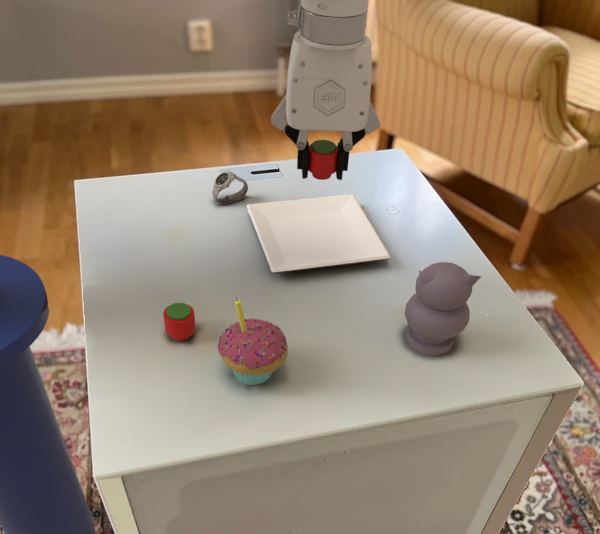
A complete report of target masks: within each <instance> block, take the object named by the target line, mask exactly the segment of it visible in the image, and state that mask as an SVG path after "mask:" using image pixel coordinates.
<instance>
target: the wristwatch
mask: <svg viewBox="0 0 600 534" xmlns="http://www.w3.org/2000/svg"><path fill="white" fill-rule="evenodd" d="M234 180H237V181H239V182H240V183H242V184H243V186H242V188H241V189H240V190H239V191H237V192H235V193H233V194H230V195H225V197H223V198H218V195H219V193H220V192H222V191H223V190H226V189H227V188H229V187H230V185H231V184H232V182H233V181H234ZM248 191H249V185H248V183H247V181H246V180H245V179H244V178H242V177H240V176H238V175H236V173H234V172H232V171H224V172H221V173H219V175H217V176H216V178H215V180H214V183H213V188H212V193H211V194H212V198H213V199H214V201H215V202H216V203H218V204H219V205H220V206H223V205H229V204H234V203H237V202H239V201H241V200H243V199H244V198H245V196H247V193H248Z"/></svg>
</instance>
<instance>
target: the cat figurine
mask: <svg viewBox="0 0 600 534" xmlns="http://www.w3.org/2000/svg"><path fill="white" fill-rule="evenodd" d="M481 278H482V275H476V274H469V272H467V270H465V269H464V268H463V267H462V266H461V265H459V264H456V263H453V262H449V261H439V262H435V263H432V264H430V265H428V266H426V267H424V268H423V269H422V270H419V271H418V276H417V278H416V281H415V293H413V295H412V296H411V297H410V298H409V299H408V301H407V302H406V304H405V309H404V317H405V320H406V323H407V325H408V328H407V332H406V341H407V344H408V346H409V347H411V349H412V350H414V351H416V352H417V353H419V354H422V355H424V356H430V357H436V356H437V357H439V356H442V355H445V354H447V353H449V352H450V350H451V349H452V347H453V345H454V342H455V338H456V336H458V335H460V334H461V333H462V332H464V330H465V329H466V327H467V326H468V324H469V322H470V318H471V317H470V316H471V315H470V313H471V311H470V307H469V305H468V303H467V302H468V300H469V299H470V297H471V295H472V293H473V286H474V285H475V284H476V283H477V282H478V281H479V280H480V279H481Z"/></svg>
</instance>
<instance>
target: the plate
mask: <svg viewBox="0 0 600 534" xmlns="http://www.w3.org/2000/svg"><path fill="white" fill-rule="evenodd" d="M246 210H247V211H248V213H249V214H248V215H249V217H250V219H251V222H252V224H253V227H254V230H255V232H256V235H257V237H258V240H259V242H260V243H259V244H260V245H261V248H262V250H263V254H264V255H265V259H266V260H267V263H268V265H269V269H270V271H271V273H273V274H283V273H291V272H299V271H306V270H316V269H324V268H331V267H340V266H341V267H342V266H349V265H357V264H364V263H374V262H381V261H388V260H389V259H391V255H390V253H389V251H388V250H387V248H386V246H385V245H384V244H383V241H382V240H381V238H380V236H379V235H378V233H377V232H376V229H375V228H374V226H373V225H372V223H371V222H370V220H369V217H368V216H367V214H366V213H365V211H364V210H363V207H361V205H360V203H359V202H358V200H357V198H356V196H355V195H354V194H352V193H351V194H350V193H349V194H340V195H339V194H338V195H329V196H319V197H310V198H300V199H298V198H297V199H289V200H279V201H269V202H259V203H249V204H247V205H246Z"/></svg>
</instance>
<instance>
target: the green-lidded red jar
mask: <svg viewBox="0 0 600 534" xmlns="http://www.w3.org/2000/svg"><path fill="white" fill-rule="evenodd" d="M162 315H163V316H162V317H163V322H164V329H165V333H166V334H167V336H169V337H170V338H172V339H174V340H176V341H186V340H188V339H189V338H190V337H191V336H193V335H194V334H195V332H196V329H197V328H196V316H195V315H196V314H195V310H194V308H193V307H192V306H191V305H190V304H187V303H185V302H174V303H171V304H169V305H168V306H167V307H165V308H164V310H163V312H162Z"/></svg>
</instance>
